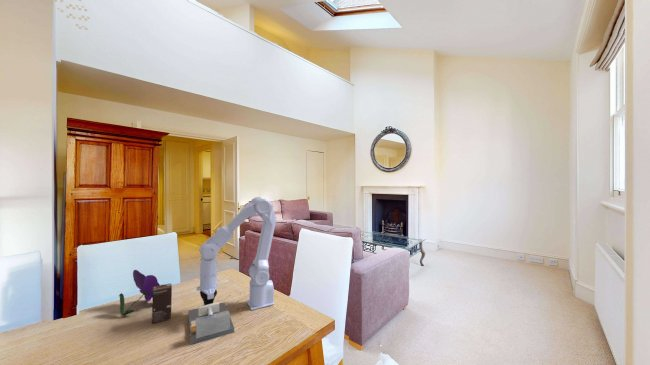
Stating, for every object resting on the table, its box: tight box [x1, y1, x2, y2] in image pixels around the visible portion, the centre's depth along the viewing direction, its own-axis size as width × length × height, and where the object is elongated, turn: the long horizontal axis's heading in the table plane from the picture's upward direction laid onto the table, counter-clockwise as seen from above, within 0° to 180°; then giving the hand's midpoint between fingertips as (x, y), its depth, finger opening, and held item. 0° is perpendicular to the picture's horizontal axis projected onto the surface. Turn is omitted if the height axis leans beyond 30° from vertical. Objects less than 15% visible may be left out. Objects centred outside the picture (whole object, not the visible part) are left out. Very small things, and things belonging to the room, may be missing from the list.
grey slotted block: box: [197, 301, 220, 316], centre depth 91 cm, size 8×7×3 cm
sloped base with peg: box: [187, 301, 235, 345], centre depth 91 cm, size 20×13×6 cm, turn 31°
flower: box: [118, 269, 160, 317], centre depth 99 cm, size 15×15×14 cm
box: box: [151, 283, 173, 324], centre depth 93 cm, size 6×4×12 cm
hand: (208, 309), depth 96 cm, fingers closed
